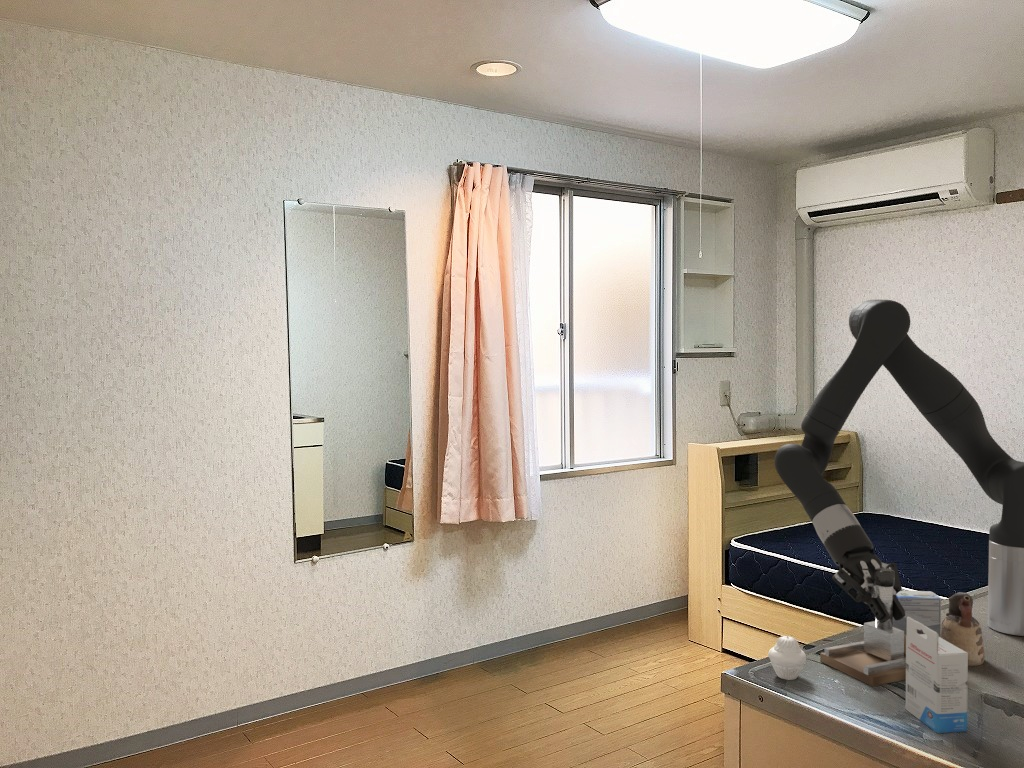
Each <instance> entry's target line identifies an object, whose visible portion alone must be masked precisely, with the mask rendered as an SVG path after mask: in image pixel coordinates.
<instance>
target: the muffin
mask: <svg viewBox="0 0 1024 768" xmlns="http://www.w3.org/2000/svg"><path fill="white" fill-rule="evenodd" d="M768 658H769V660H770V664H771V666H772V668H773V670H774V672H775V673H776V676H777V677H778V678H780V679H782V680H788V681H793V680H796V679H797V678H798V677H799V675H800V674H801V672H802V670H803V669H804V667H805V663H806V662H807V654H806V653H805V652H804V650H802V649H801V647H800V646H799V641H798V640H797V639H796V638H795V637H792V636H789V635H784V636H780V637H778V638H777V639H776V643H775V644H774V646H772V647H771V648H770V649H769V651H768Z"/></svg>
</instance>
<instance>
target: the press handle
mask: <svg viewBox="0 0 1024 768" xmlns="http://www.w3.org/2000/svg"><path fill="white" fill-rule="evenodd" d="M894 580H895V571H894V570H891V569H886V568H877V569H875V575H874V584H876V594H877V598H880V600H881V601H882V603H883V605H884V606H885V608H886V610H887V611H888V613H889V614H890V619H889V620H887V621H886V622H884V623H880V622H879V620H878V619H877V618H876V617H875V616H874V619H875V620H872V621H868V622H864V623H863V641H864V651H866V652H868V653H870V654H873V655H875V656H877V657H880V658H882V659H884V660H887V661H892V660H897V659H902V658H904V631H902V630H900V629H897V628H894V627H893V586H894Z"/></svg>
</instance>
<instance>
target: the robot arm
mask: <svg viewBox="0 0 1024 768" xmlns="http://www.w3.org/2000/svg"><path fill="white" fill-rule="evenodd" d="M848 327H849V331H850V333H851V334H852V337H853V338H854V339H855V340H856V341H855V343H854V344H853V345H854V346H853V347H852V348H851V351H850V352H849V354H848V356H847V358H846V359H845V361H844V362H843V364H841V366H840V367H839V368H838V370H837V371H836V372H835V373H834V374H833V375H832V376H831V378H830V379H829V380H827V381H826V383H825V385H823V387H822V388H821V390H820V391H819V392H818V393H817V395H816V397H815V398H814V400H813V402H812V403H811V405H810V406H809V409H808V411H807V412H806V415H805V416H804V418H803V419H802V422H801V425H800V426H801V427H800V428H801V430H802V432H803V433H804V435H803V436H804V437H803V439H802V442H801V445H800V444H797V443H787V444H784V445H782V446H781V447H779V448H778V449H777V451H776V452H775V455H774V467H775V470H776V472H777V474H778V476H779V477H780V479H781V481H782V482H783V483H784V484H785V485H786V487H787V488H788V489H789V490H790V492H791V493H792V494H793V495H794V496H795V498H796V499H797V500H798V501H799V502H800V503H801V505H802V507H803V509H804V511H805V513H806V514H807V516H808V517H809V519H810V521H811V523H812V524H813V527H814V529H815V532H816V534H817V536H818V538H819V539H820V541H821V542H822V544H823V546H824V547H825V549H826V551H827V552H828V555H829V556H830V558H831V559H832V561H833V563H834V564H835V565H836V566H838V567H839V570H838V571H837V572H836V573H835V574H833V575H832V578H831V579H832V580H833V582H835V583H836V585H838V586H839V587H840V588H841V589H842V590H843V591H844V592H845V593H846V594H847V595H848V597H850V598H851V599H853V600H854V602H856V603H860V602H861V603H862V602H863V603H864V604H865V605H867V606H868V607H869V609H870V610H871V612H872V614H873V616H874V618H875V617H876V618H877V619H878V620H879V622H880V623H884V622H886V621H887V620H889V619H890V614H889V613H888V611H887V610H886V608H885V606H884V605H883V603H882V601H881V600H880V598H877V594H876V584H874V575H875V569H877V568H886V569H891V570H894V571H895V580H894V586H893V617H894V619H895V620H901V619H902V618H903V617H904V616H905V610H904V608H903V607H902V605H901V604H900V602H899V600H898V599H897V597H896V594H897V593H898V592H900V591H903V588H902V584H901V580H900V576H899V575H900V574H899V571H898V567H897V564H896V563H895V562H893V561H891V562H889V564H888V563H884V562H882V560H881V559H880V558H879V557H878V556H877V555H876V554H875V553H874V544H873V542H872V541H871V538H869V536H868V535H867V532H865V529H864V528H863V527H862V526H861V524H860V522H859V520H858V519H857V517H856V516H855V514H854V513H853V512H852V511H851V510H850V508H849V507H848V506H847V505H846V503H845V501H844V499H843V498H842V496H841V495H840V493H839V492H838V490H837V489H836V488H835V486H834V485H833V484H832V483H830V482H829V481H828V480H826V479H825V478H824V477H823V475H824V473H825V472H826V470H827V467H828V464H829V461H830V458H831V456H832V455H831V454H832V452H833V449H834V445H835V440H836V438H837V436H838V435H839V433H840V432H841V430H842V428H843V427H844V425H845V423H846V421H847V419H848V418H849V416H850V415H851V413H852V412H853V409H854V407H855V405H856V404H857V402H858V401H859V399H860V397H861V396H862V394H863V393H864V391H865V390H866V388H867V387H868V386H869V384H870V383H871V381H872V380H873V378H874V377H875V376H876V374H877V373H878V371H879V370H880V368H882V366H883V367H884V368H885V369H886V370H887V371H888V372H889V374H890V375H891V376H892V378H893V380H894V381H895V382H896V383H897V385H898V386H899V387H900V389H901V390H902V391H903V392H904V394H905V395H906V396H907V397H908V399H909V400H910V401H911V403H913V405H914V406H915V408H916V409H917V411H918V412H920V414H921V415H922V416H923V417H924V419H925V420H926V421H927V423H929V424H930V426H931V427H933V429H934V430H935V431H936V432H937V434H939V435H940V436H941V438H942V439H943V440H944V441H945V442H946V444H948V446H949V447H950V448H951V449H953V451H954V452H955V453H956V454H957V455H958V456H959V458H961V460H962V462H963V463H964V464H965V465H966V467H967V468H968V469H969V472H971V474H972V476H973V478H974V479H975V480H976V482H977V483H978V484H979V485H978V486H980V487H981V489H982V490H983V492H984V494H985V495H986V496H987V497H988V498H989V499H991V500H992V501H994V502H995V503H997V504H1000V505H1002V507H1001V508H1002V509H1001V517H1000V518H1001V519H1000V521H999V522H998V523H995V524H992V525H991V526H990V528H989V531H988V533H989V535H988V576H987V577H988V580H987V581H988V582H987V583H988V584H987V585H988V586H987V587H988V589H987V590H988V591H987V598H988V599H987V626H988V627H989V628H990V629H993V631H996V632H999V633H1003V634H1007V635H1013V636H1019V637H1020V636H1021V637H1024V462H1023V461H1019V460H1016V459H1014V458H1013V457H1012V456H1011V455H1009V454H1008V453H1007V452H1006V451H1005V450H1004V449H1003V448H1002V447H1001V446H1000V445H999V444H998V442H997V441H995V439H994V438H993V437H992V435H991V433H990V431H989V430H988V427H987V424H986V420H985V417H984V414H983V411H982V408H981V407H980V404H979V403H978V402H977V400H976V399H975V397H974V396H973V395H972V394H971V393H970V392H969V390H968V389H967V388H966V387H965V386H964V384H963V383H962V382H961V381H960V380H959V379H958V378H957V377H956V376H955V375H954V374H953V372H951V371H950V370H948V369H947V368H946V367H944V366H943V365H942V364H940V363H939V362H938V361H937V360H935V359H934V358H932V356H930V355H928V354H927V353H925V352H924V351H923V350H922V349H921V348H920V347H919V346H918V345H917V344H916V343H915V342H914V341H913V340H912V338H911V336H909V334H908V332H909V330H910V327H911V316H910V313H909V311H908V310H907V308H906V307H905V306H904V305H903V304H902V303H900V302H898V301H896V300H893V299H868V300H864V301H861V302H859V303H858V304H857V305H855V306H854V307H853V308H852V310H851V312H850V313H849V317H848Z"/></svg>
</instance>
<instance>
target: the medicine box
mask: <svg viewBox="0 0 1024 768" xmlns="http://www.w3.org/2000/svg"><path fill="white" fill-rule="evenodd" d="M896 597H897V599H898V600H899V602H900V604H901V605H902V607H903V608H904V610H905V611H906V612H909V613H912V614H914V615H917V616H920V617H923V618H926V619H928V620H931V621H934V622H937V623H940V624H941V625H942V598H941V597H940V596H939V595H938V594H936V593H935V592H933V591H929V590H927V591H924V590H901V591H900V592H898V593H897V594H896ZM940 637H941V629H940Z"/></svg>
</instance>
